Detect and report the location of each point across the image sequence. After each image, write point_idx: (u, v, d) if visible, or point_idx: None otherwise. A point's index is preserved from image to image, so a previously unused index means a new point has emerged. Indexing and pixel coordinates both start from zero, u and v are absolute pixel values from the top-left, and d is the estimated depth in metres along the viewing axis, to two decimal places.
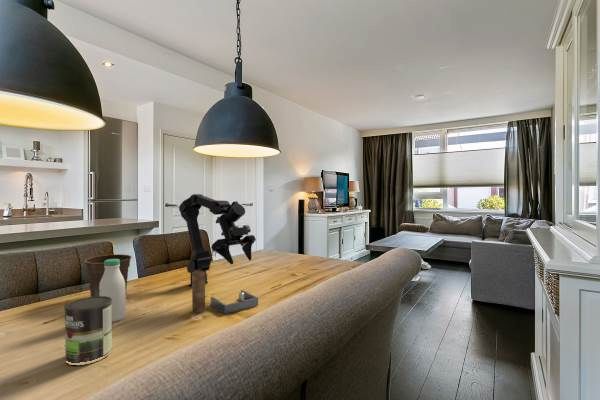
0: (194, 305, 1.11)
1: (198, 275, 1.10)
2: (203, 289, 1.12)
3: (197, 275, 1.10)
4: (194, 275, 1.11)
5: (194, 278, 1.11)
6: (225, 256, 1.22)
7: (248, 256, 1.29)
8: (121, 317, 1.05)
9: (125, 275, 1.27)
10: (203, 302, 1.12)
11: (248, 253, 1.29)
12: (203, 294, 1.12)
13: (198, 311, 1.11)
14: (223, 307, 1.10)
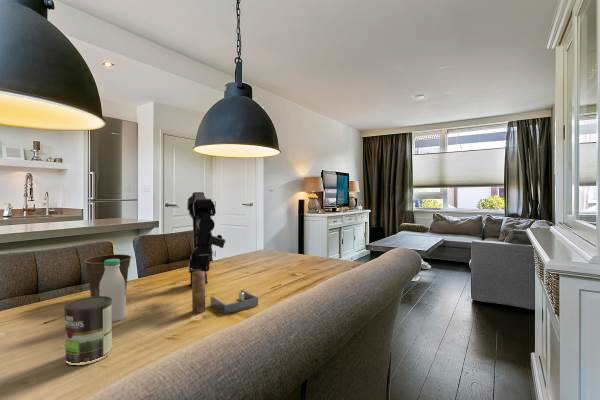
0: (194, 305, 1.11)
1: (198, 275, 1.10)
2: (203, 289, 1.12)
3: (197, 275, 1.10)
4: (194, 275, 1.11)
5: (194, 278, 1.11)
6: (202, 262, 1.20)
7: None
8: (121, 317, 1.05)
9: (125, 275, 1.27)
10: (203, 302, 1.12)
11: None
12: (203, 294, 1.12)
13: (198, 311, 1.11)
14: (223, 307, 1.10)
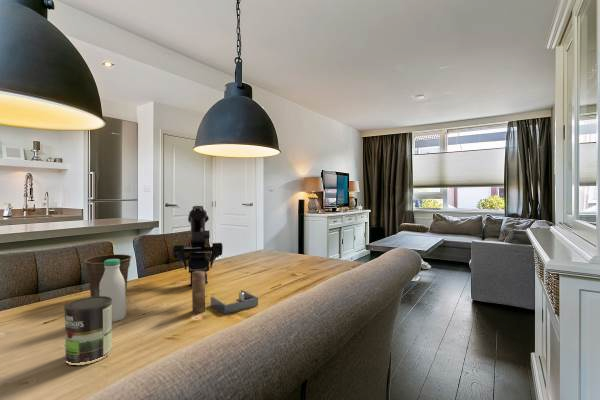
0: (194, 305, 1.11)
1: (198, 275, 1.10)
2: (203, 289, 1.12)
3: (197, 275, 1.10)
4: (194, 275, 1.11)
5: (194, 278, 1.11)
6: (182, 261, 1.22)
7: (210, 263, 1.23)
8: (121, 317, 1.05)
9: (125, 275, 1.27)
10: (203, 302, 1.12)
11: None
12: (203, 294, 1.12)
13: (198, 311, 1.11)
14: (223, 307, 1.10)
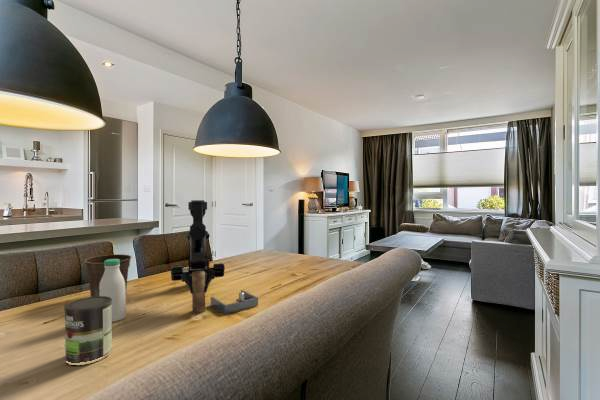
0: (194, 305, 1.11)
1: (198, 275, 1.10)
2: (203, 289, 1.12)
3: (197, 275, 1.10)
4: (194, 275, 1.11)
5: (194, 278, 1.11)
6: (188, 284, 1.13)
7: (205, 287, 1.13)
8: (121, 317, 1.05)
9: (125, 275, 1.27)
10: (203, 302, 1.12)
11: (205, 284, 1.14)
12: (203, 294, 1.12)
13: (198, 311, 1.11)
14: (223, 307, 1.10)
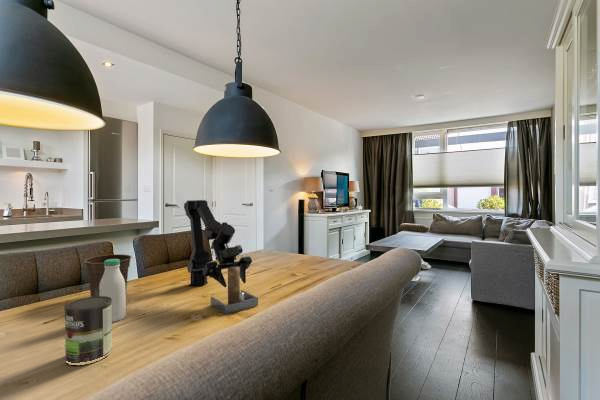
0: (232, 299, 1.17)
1: (236, 270, 1.17)
2: (239, 283, 1.19)
3: (235, 271, 1.17)
4: (232, 271, 1.16)
5: (232, 274, 1.16)
6: (219, 279, 1.16)
7: (242, 279, 1.21)
8: (121, 317, 1.05)
9: (125, 275, 1.27)
10: None
11: (242, 276, 1.21)
12: (239, 288, 1.19)
13: None
14: (223, 307, 1.10)
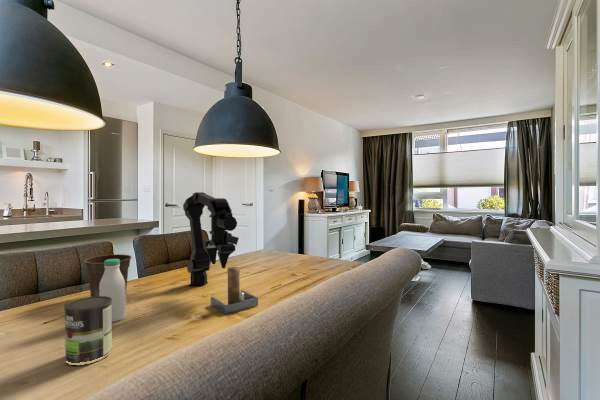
0: (232, 299, 1.17)
1: (236, 271, 1.17)
2: (239, 283, 1.19)
3: (235, 271, 1.17)
4: (232, 271, 1.16)
5: (232, 274, 1.16)
6: (223, 259, 1.26)
7: (213, 260, 1.34)
8: (121, 317, 1.05)
9: (125, 275, 1.27)
10: None
11: (214, 257, 1.34)
12: (239, 288, 1.19)
13: None
14: (223, 307, 1.10)
